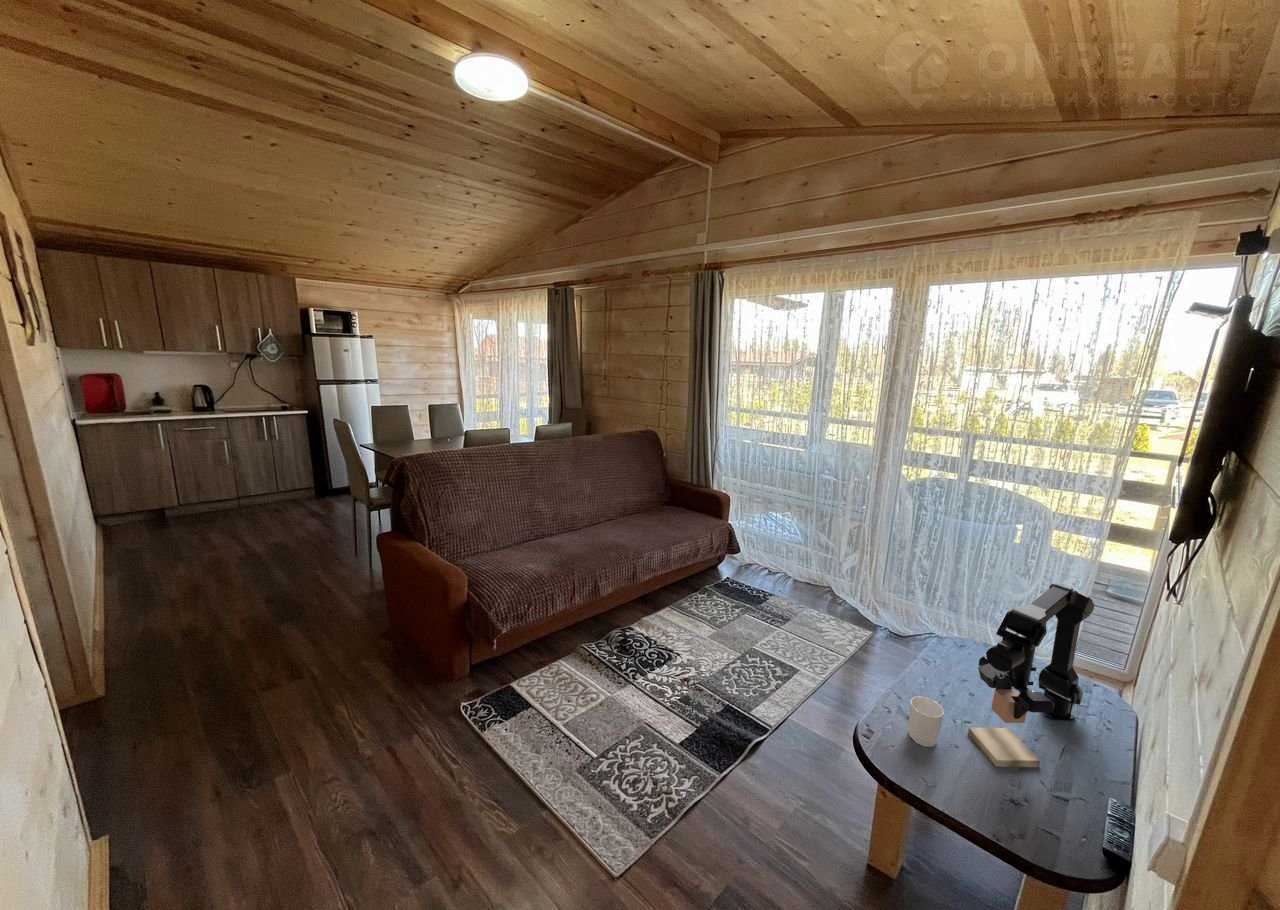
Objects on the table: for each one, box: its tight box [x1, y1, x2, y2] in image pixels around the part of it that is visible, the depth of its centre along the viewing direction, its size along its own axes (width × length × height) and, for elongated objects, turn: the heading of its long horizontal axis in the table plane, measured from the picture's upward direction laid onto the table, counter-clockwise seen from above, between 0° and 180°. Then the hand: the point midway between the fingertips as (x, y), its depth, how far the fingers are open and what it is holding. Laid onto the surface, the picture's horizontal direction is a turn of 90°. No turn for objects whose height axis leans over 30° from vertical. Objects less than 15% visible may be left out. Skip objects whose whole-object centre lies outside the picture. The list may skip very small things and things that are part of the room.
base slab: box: [967, 727, 1041, 768], centre depth 129 cm, size 11×11×2 cm
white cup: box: [908, 696, 945, 748], centre depth 132 cm, size 8×8×10 cm
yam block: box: [991, 688, 1027, 724], centre depth 127 cm, size 5×5×6 cm
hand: (1008, 710), depth 127 cm, fingers closed on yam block, 5 cm apart
